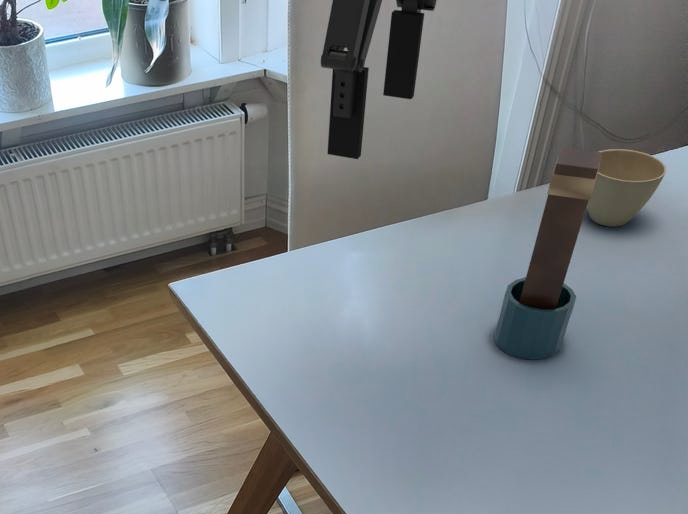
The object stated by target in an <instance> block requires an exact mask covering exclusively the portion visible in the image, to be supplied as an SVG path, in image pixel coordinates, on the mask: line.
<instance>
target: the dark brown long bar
mask: <svg viewBox="0 0 688 514" xmlns="http://www.w3.org/2000/svg"><path fill="white" fill-rule="evenodd" d="M601 156H602V152H599V151H593V150H586V149H578V148H569V147H561V148H560V150H559V155H558V157H557V159H556V162H555V166H554V169H553V171H552V175H551V179H550V182H549V186H548V190H547V192H546V193H547V198H546V201H545V205H544V208H543V212H542V216H541V220H540V222H539V227H538V231H537V234H536V238H535V242H534V246H533V250H532V254H531V258H530V261H529V265H528V269H527V272H526V276H525V277H526V279H525V283H524V287H523V291H522V294H521V298H520V302H519V303H520V304H523V305H525V306H528V307H530V308H535V309H541V310H547V309H556V306H557V303H558V300H559V297H560V293H561V290H562V287H563V283H564V284H565V280H566V276H567V273H568V271H569V266H570V263H571V260H572V257H573V254H574V250H575V246H576V244H577V241H578V237H579V234H580V230H581V227H582V223H583V222H584V221H583V220H584V217H585V214H586V211H587V209H588V208H587V204H588V201H589V200H590V198H591V195H592V191H593V188H594V185H595V182H596V178H597V174H598V170H599V166H600V160H601Z"/></svg>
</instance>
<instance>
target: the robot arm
mask: <svg viewBox="0 0 688 514" xmlns="http://www.w3.org/2000/svg"><path fill="white" fill-rule="evenodd" d="M437 1H438V0H395V2H396V7H397V8H401V10H399V9H394V10H393V11H392V12H391V15H390V24H389V25H390V26H389V34H388V35H389V36H388V45H387V53H386V54H387V55H386V63H385V64H386V65H385V75H384V83H383V84H384V85H383V93H382V96H385V97H392V98H399V99H406V100H412V99H414V97H415V90H416V82H417V75H418V66H419V60H420V59H419V58H420V51H421V44H422V35H423V30H424V29H423V28H424V19H425V13H424V12H422V11H429V12H430V11H431V12H434V11H435V9H436V5H437ZM382 2H383V0H332V3H331V8H330V13H329V17H328V23H327V29H326V34H325V38H324V44H323V49H322V54H321V56H320V67H321V68H323V69H332V75H331V88H330V89H331V91H330V106H329V107H330V108H329V121H328V123H329V125H328V136H327V137H328V138H327V139H328V140H327V153H326V154H327V155H329V156H335V157H340V158H341V157H342V158H347V159H354V160H359V158H360V157H361V156H362V145H363V135H364V124H365V114H366V102H367V92H368V81H369V70H370V67H367V66H365V65H366V59H367V56H368V52H369V49H370V46H371V43H372V38H373V34H374V31H375V27H376V24H377V20H378V17H379V13H380V10H381V6H382ZM345 49H346V50H345Z"/></svg>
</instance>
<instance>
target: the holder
mask: <svg viewBox="0 0 688 514" xmlns="http://www.w3.org/2000/svg"><path fill="white" fill-rule="evenodd" d="M525 279H526V276H524V277H520V278H516V279H515V280H513V281H511V282H510V283H509V284H507V287H506V289H505V293H504V297H503V300H502V304H501V308H500V311H499V312H500V313H499V317H498V319H497V324H496V328H495V332H494V342H495V344H496V346H497V347H498V348H499V349H500V350H501V351H502V352H504V353H505V354H508V355H509V356H512V357H515V358H519V359H523V360H543V359H547V358H550V357H552V356H554V355H556V354H557V353H558V352H559V351H560V349H561V347H562V345H563V341H564V338H565V335H566V333H567V329H568V326H569V323H570V319H571V316H572V313H573V310H574V307H575V303H576V301H577V295H576V294H575V291H574V289H573V288H572V287H570V286H569V285H567V284H566V283H565V282H564V283H563V287H562V290H561V293H560V297H559V300H558V303H557V306H556V309H547V310H541V309H535V308H530V307H528V306H525V305H523V304H520V303H519V302H520V298H521V294H522V291H523V287H524V283H525Z"/></svg>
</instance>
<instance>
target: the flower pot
mask: <svg viewBox="0 0 688 514" xmlns="http://www.w3.org/2000/svg"><path fill="white" fill-rule="evenodd" d="M598 152H602V156H601V160H600V166H599V170H598V174H597V178H596V182H595V185H594V188H593V191H592V195H591V198H590V200H589V201H588V204H587V208H586V209H587V212H588V215H589V218H590V219H591V220H592V222H593V223H594V222H595V223H596V224H599V225H601V226H605V227H614V228H615V227H620V226H624V225H626V224H627V223H628V222H629V221H631V220H632V219H633V218H634V217H635V216H636V215H637V214H638V213H639V212H641V210H642V209H643V208H644V207H645V205H646V204H647V203H648V202H649V200H650V199H651V198H652V197H653V195H654V194H655V192H656V191H657V189H658V187H659V186H660V184H661V182H662V181H663V179H664V177H665V175H666V173H667V167H666V165H665V163H664V162H663V161H662V160H660V159H659V158H657V157H655V156H654V155H652V154H649V153H645V152H642V151H638V150H632V149H625V148H624V149H622V148H612V149H604V150H599V151H598Z"/></svg>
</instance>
